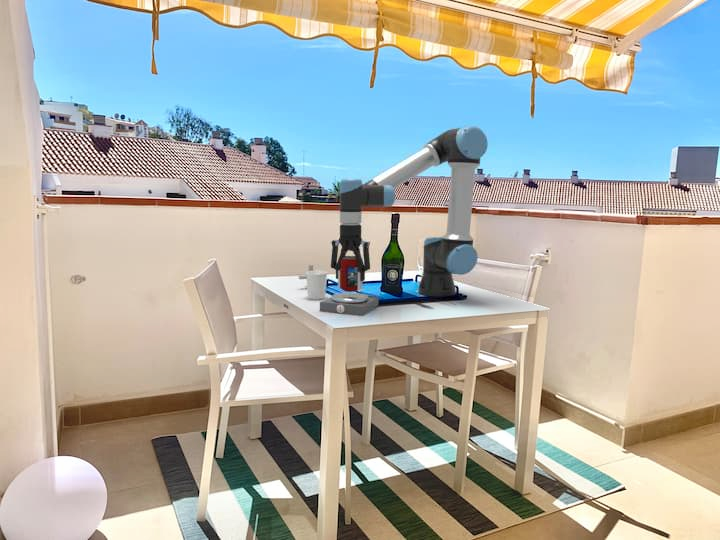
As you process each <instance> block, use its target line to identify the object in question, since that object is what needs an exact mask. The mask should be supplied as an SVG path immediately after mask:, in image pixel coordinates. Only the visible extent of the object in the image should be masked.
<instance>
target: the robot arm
mask: <svg viewBox="0 0 720 540" xmlns="http://www.w3.org/2000/svg"><path fill="white" fill-rule="evenodd" d="M488 143H489V142H488V137H487V135H486V134H485V132H484V131H483V130H482V129H481V128H479V127H477V126H473V125H467V126H465V125H464V126H462V127H457V128H451V129H448V130H445V131H444V132H442V133H441V134H440V135H438V136H436V137H435V138H433V139H432V140H430V141H429V142H426V143H425V144H424V145H423V148H422V149H420V150H419V151H417V152H415V153H413V154H412V155H410V156H407V158H405V159H404V160H402V161H400V162H399V163H397V164H395V165H394V166H392V167H390V168H389V169H387V170H385V171H383V172H382V173H380V174H378V175H376V176H375V177H373V178H372V179H370V180H368V181H367V182H365V183H363V181H362V179H359V178H343V179H341V181H340V184H339V223H340V225H339V239H334V240H331V242H330V243H331V246H332V249H331V261H330V268H331V269H334V270H335V279H336V280H337V290H338V289H339V290H342V289H341V260H342V258H343V257H344V256H347V253H348V252H349V251H350V252H352V253H353V254H354V256H355V257H356V260H357V264H358V267H359V270H360V271H359V272H358V290H357V291H358V292H360V291H362V290H363V282H365V280H366V272H367V271H370V269H371V261H370V245H371V242H370V241H365V240H363V239H362V225H361V223H362V214H363V213H362V210H363V209H362V208H364V207H367V208H368V207H370V208H372V207H373V208H375V207H383V208H386V207H391V206H393V205H394V204H395V201H396V191H395V190H396V189H397V188H398V187H400V186H401V185H403V184H404V183H406V182H409V181H410V180H411V179H413V178H415V177H416V176H418V175H420V174H421V173H424V172H425V171H427V170H428V169H430V168H431V167H438V166H440V165H442V164H444V163H447V165H448V166H449V167H450V169H451V173H450V183H449V184H450V186H449V196H448V197H449V199H448V201H449V202H448V212H447V223H446V225H447V226H446V233H445V234H444V235H443V236H440V237H439V236H435V237H434V236H433V237H426V238H425V239H424V243H423V261H422V262H423V269H422V275H421V278H420V281H419V285H418V288H417V292H418V294H420V295H423V296H429V297H451V296H454V295H456V285H455V282H454V279H453V275H458V276H463V275H467V274H469V273H470V272H471V271H472V270H474V268H475V267H476V265H477V263H478V257H479V255H478V251H477V250H476V248H475V247H474V238H473V237H472V236H471V235H470V233H471V222H472V221H471V220H472V212H473V211H472V210H473V209H472V208H473V197H474V188H475V174H476V170H477V168H478V167H479V166H481V158H482V157H483V156H484V154H486V152H487V150H488V146H489V145H488ZM339 246H341V250H340V253H339ZM360 247H362V252H363V255H362V254H361V249H360ZM338 254H339V255H338ZM362 257H363V258H362Z"/></svg>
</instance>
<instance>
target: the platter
mask: <svg viewBox="0 0 720 540" xmlns="http://www.w3.org/2000/svg"><path fill="white" fill-rule="evenodd" d="M367 295H368V294H365V293H361V292H360V293H359V292H338V293H334V294H332V295H331V297H332V301H335V302H338V303H349V304H352V303H362V302H366V301H368V296H367Z"/></svg>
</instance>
